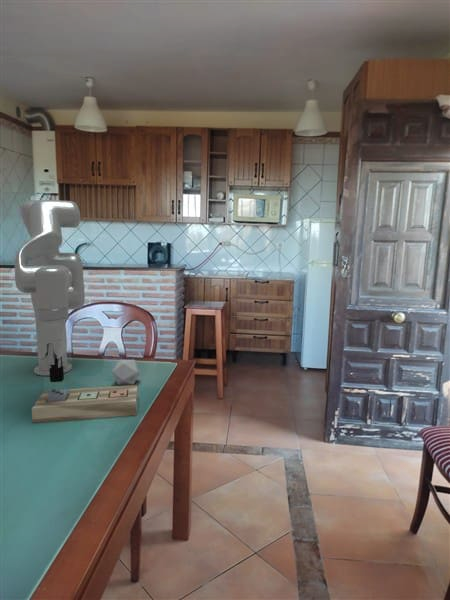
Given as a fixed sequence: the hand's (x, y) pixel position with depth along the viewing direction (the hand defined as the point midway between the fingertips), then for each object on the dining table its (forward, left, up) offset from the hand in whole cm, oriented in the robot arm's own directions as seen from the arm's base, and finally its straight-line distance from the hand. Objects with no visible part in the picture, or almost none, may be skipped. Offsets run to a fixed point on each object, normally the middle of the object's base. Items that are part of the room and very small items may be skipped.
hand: (57, 380), depth 104 cm
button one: (0, +8, -8) cm, 11 cm away
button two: (0, +16, -8) cm, 18 cm away
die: (-19, +17, -9) cm, 27 cm away
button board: (0, +8, -9) cm, 12 cm away
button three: (0, 0, -6) cm, 6 cm away
